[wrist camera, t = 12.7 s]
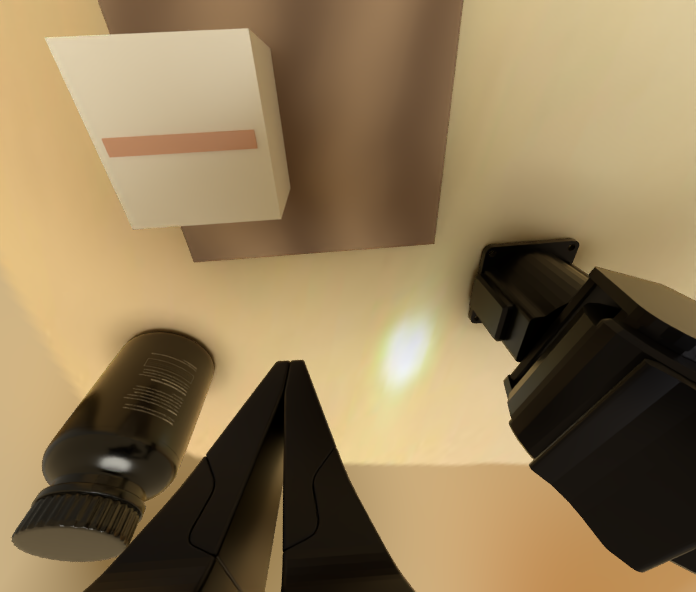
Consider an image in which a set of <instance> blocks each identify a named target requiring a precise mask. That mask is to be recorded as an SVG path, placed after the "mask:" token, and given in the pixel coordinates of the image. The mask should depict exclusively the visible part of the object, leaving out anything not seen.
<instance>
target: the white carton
mask: <svg viewBox="0 0 696 592" xmlns="http://www.w3.org/2000/svg"><path fill="white" fill-rule="evenodd" d="M44 38H45V40H46V42H47V44H48V46H49V49H50V51H51V53H52V55H53V57H54V60H55V62H56V64H57V66H58V68H59V70H60V73H61V75H62V77H63V79H64V81H65V83H66V86H67V88H68V90H69V92H70V94H71V96H72V99H73V101H74V103H75V105H76V107H77V110H78V112H79V114H80V116H81V118H82V120H83V123H84V125H85V127H86V129H87V131H88V133H89V136H90V138H91V140H92V142H93V144H94V147H95V149H96V151H97V153H98V155H99V157H100V160H101V162H102V164H103V166H104V168H105V170H106V173H107V175H108V177H109V179H110V181H111V184H112V186H113V188H114V190H115V192H116V194H117V197H118V199H119V201H120V203H121V205H122V207H123V210H124V212H125V214H126V216H127V218H128V221H129V223H130V225H131V227H132V229H133V230H134V229H149V228H163V227H177V226H191V225H205V224H220V223H234V222H248V221H262V220H277V219H281V218H282V215H283V211H284V208H285V205H286V201H287V198H288V195H289V191H290V181H289V174H288V167H287V160H286V153H285V146H284V140H283V133H282V126H281V119H280V112H279V105H278V98H277V91H276V85H275V78H274V71H273V64H272V57H271V50H270V48H269V47H268V46H267V45H266V44H265V43H264V42H263V41H262V40H261V39H260V38H258V37H257V36H256V35H255V34H254V33H253V32H252V31H251V30H250V29H249V28H242V29H220V30H198V31H176V32H154V33H132V34H110V35H87V36H65V37H44Z"/></svg>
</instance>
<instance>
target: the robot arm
mask: <svg viewBox="0 0 696 592" xmlns="http://www.w3.org/2000/svg"><path fill="white" fill-rule="evenodd" d="M570 245H571V246H570ZM569 246H570V247H569ZM568 247H569V248H568ZM578 248H579V242H577V241H576V240H574V239H571V238H569V239H556V240H543V241H531V242H518V243H505V244H492V245H488V246H486V247H485V248H484V250H483V253H482V257H481V262H480V266H479V271H478V274H477V276H476V277H475V281H474V285H473V290H472V295H471V299H470V306H471V308H470V312H469V319H470V320H471V322H472V323H483V324H484V326H485V327H486V329H487V330H488V332H489V333H490V334H491V336H492V337H493V338H494V339H495V340H496V341H502V342H503V344H504V345H505V347H506V348H507V349H508V351H509V352H510V353H511V355H512V356H513V357H514V359H515V360H516V361H517V362H521V363H520V364H519V365H518V366H517V367H516V369H515V370H514V371H513V372H512V374H511V375H508V376H507V377H506V378H505V380H504V386H505V390H506V394H507V397H508V402H507V403H508V407H509V412H510V416H511V420H510V421H509V425H510V427H511V429H512V431H513V433H514V435H515V436H516V438H517V440H518V441H519V442H520V444H521V445H522V446H523V448H524V449H525V450H526V452H527V453H528V454H529V455H530V456H531V457H532V458H533V459H534V460H533V461H532V462H531V463H530V464H529V466H530V468H531V470H533V471H534V472H535V473H536V474H538V475H539V476H540V477H542V478H543V479H544V480H546V481H547V482H548V483H550V484H551V485H552V486H553V487H554V488H555V489H556V490H557V491H558V492H559V493H560V494H561V495H562V496H563V497H564V498H565V499H566V500H567V501H568V502H569V503H570V504H571V505H572V506H573V508H574V509H575V510H576V511H577V512H578V513H579V515H580V516H581V517H582V518H583V520H584V521H585V522H586V523H587V525H588V526H589V527H590V528H591V530H592V531H593V532H594V534H595V535H596V536H597V538H598V539H599V540H600V541H601V543H602V544H603V545H604V546H605V547H606V548H607V549H608V550H609V551H610V552H611V553H613V554H614V555H615V556H617V557H618V558H619V559H621V560H622V561H623V562H625V563H626V564H627V565H629V566H630V567H631V568H633V569H634V570H636V571H638V572H645V571H647V570H650V569H652V568H654V567H657V566H659V565H661V564H663V563H665V562H667V561H671V562H673V563H674V564H676V565H678V566H680V567H682V568H684V569H686V570H688V571H690V572H692V573H694V574H696V301H695V300H693V299H691V298H689V297H687V296H685V295H683V294H681V293H679V292H677V291H675V290H673V289H671V288H669V287H667V286H664V285H662V284H659V283H655V282H652V281H648V280H644V279H640V278H637V277H633V276H629V275H625V274H622V273H618V272H614V271H610V270H607V269H603V268H599V267H595V268H594V269H593V270H592V271H591V273H590V274H589V275H588V274H587V273H585V272H584V271H582V270H581V269H579V268H578V267H576V266H575V265H573V264H572V262H573V260H574V258H575V255H576V253H577V250H578ZM491 251H493V253H492V254H490V255H489V253H490V252H491ZM476 316H477V317H476ZM474 317H475V318H474ZM206 456H207V457H203V459H202V460H201V461H200V463H199V464H198V466H197V467H196V468H195V469H194V471H193V472H192V473H191V474H190V476H189V477H188V478H187V479H186V481H185V482H184V483H183V484H182V486H181V487H180V488H179V489H178V491H177V492H176V493H175V494H174V495H173V496H172V497H171V499H170V500H169V501H168V502H167V503H166V504H165V505H164V507H163V508H162V509H161V510H160V511H159V512H158V513H157V515H156V516H155V517H154V518H153V519H152V520H151V521H150V522H149V523H148V524H147V526H146V527H145V528H144V529H143V530H142V531H141V532H140V533H139V534H138V535H137V537H136V538H135V539H134V540H133V541H132V542H131V543H130V544H129V545H128V547H127V548H126V549H125V550H124V551H123V552H122V553H121V554H120V555H119V557H118V558H117V559H116V560H115V561H114V562H113V563H112V564H111V565H110V567H108V569H107V570H106V571H105V572H104V573H103V574H102V575H101V576H100V577H99V578H98V579H97V580H95V581H94V582H93V583H92V584H91V585H90V586H89V587H88V588H87V589H85V590H84V591H83V592H265V586H266V580H267V574H268V568H269V562H270V556H271V550H272V545H273V539H274V533H275V527H276V521H277V515H278V509H279V503H280V497H281V491H282V486H283V567H282V587H281V592H415V590H414V589H413V588H412V587H411V585H410V584H409V583H408V581H407V580H406V579H405V577H404V576H403V575H402V573H401V572H400V570H399V569H398V567H397V566H396V564H395V562H394V561H393V559H392V558H391V556H390V554H389V552H388V551H387V549H386V547H385V546H384V544H383V542H382V540H381V538H380V537H379V535H378V533H377V531H376V529H375V527H374V525H373V523H372V522H371V520H370V518H369V516H368V514H367V512H366V511H365V509H364V507H363V505H362V503H361V501H360V499H359V497H358V496H357V493H356V492H355V489H354V487H353V485H352V483H351V481H350V479H349V477H348V475H347V472H346V470H345V468H344V465H343V463H342V460H341V458H340V455H339V452H338V450H337V448H336V445H335V442H334V439H333V437H332V434H331V431H330V429H329V426H328V423H327V421H326V418H325V415H324V413H323V410H322V407H321V405H320V402H319V399H318V397H317V394H316V391H315V389H314V386H313V383H312V381H311V378H310V375H309V373H308V370H307V367H306V365H305V362H304V361H303V360H292V361H291V362H290V361H278V362H276V363H275V364H274V366H273V367H272V368H271V370H270V371H269V372H268V374H267V375H266V376H265V378H264V379H263V380H262V381H261V383H260V384H259V385H258V387H257V388H256V389H255V391H254V392H253V393H252V395H251V396H250V397H249V399H248V400H247V401H246V403H245V404H244V405H243V406H242V408H241V409H240V410H239V412H238V413H237V414H236V416H235V417H234V418H233V420H232V421H231V422H230V424H229V425H228V426H227V427H226V429H225V430H224V431H223V433H222V434H221V435H220V437H219V438H218V439H217V441H216V442H215V443H214V445H213V446H212V447H211V449H210V450H209V451H208V452H207V454H206Z"/></svg>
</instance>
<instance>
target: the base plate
mask: <svg viewBox="0 0 696 592" xmlns="http://www.w3.org/2000/svg"><path fill="white" fill-rule="evenodd" d="M98 2H99V5H100V8H101V11H102V13H103V16H104V19H105V21H106V24H107V27H108V30H109V32H110V34H132V33H154V32H176V31H198V30H220V29H242V28H249V29H250V30H251V31H252V32H253V33H254V34H255V35H256V36H257V37H258V38H260V39H261V40H262V41H263V42H264V43H265V44H266V45H267V46H268V47H269V48H270V50H271V57H272V64H273V71H274V78H275V85H276V91H277V98H278V105H279V112H280V119H281V126H282V133H283V140H284V146H285V153H286V160H287V167H288V174H289V181H290V191H289V195H288V198H287V201H286V205H285V208H284V211H283V215H282V218H281V219H277V220H262V221H248V222H234V223H220V224H205V225H191V226H181V228H182V231H183V234H184V237H185V239H186V242H187V245H188V247H189V250H190V253H191V256H192V258H193V261H194V262H204V261H217V260H230V259H243V258H256V257H269V256H282V255H295V254H308V253H321V252H334V251H347V250H361V249H374V248H387V247H400V246H413V245H426V244H434V242H435V233H436V225H437V217H438V208H439V200H440V192H441V183H442V175H443V167H444V158H445V150H446V141H447V133H448V125H449V116H450V108H451V100H452V91H453V83H454V74H455V66H456V58H457V49H458V41H459V33H460V24H461V16H462V7H463V0H98Z"/></svg>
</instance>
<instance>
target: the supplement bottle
mask: <svg viewBox="0 0 696 592" xmlns="http://www.w3.org/2000/svg"><path fill="white" fill-rule="evenodd" d="M213 374H214V365H213V362H212V359H211V357H210V356H209V354H208V353H207V351H206V350H205V349H204V348H203V347H202V346H200V345H199V344H198V343H196V342H195V341H193V340H191V339H189V338H187V337H184V336H181V335H178V334H174V333H168V332H151V333H146V334H142V335H139V336H137V337H135V338H133V339H131V340H130V341H129V342H127V343H126V344H125V345H124V347H123V348H122V349H121V350H120V352H119V353H118V354H117V355H116V357H115V358H114V359H113V361H112V362H111V363H110V364H109V366H108V367H107V368H106V370H105V371H104V372H103V374H102V375H101V376H100V378H99V379H98V380H97V382H96V383H95V384H94V386H93V387H92V388H91V390H90V391H89V392H88V394H87V395H86V396H85V398H84V399H83V400H82V401H81V403H80V404H79V405H78V407H77V408H76V409H75V411H74V412H73V413H72V415H71V416H70V417H69V419H68V420H67V421H66V423H65V424H64V425H63V427H62V428H61V429H60V431H59V432H58V433H57V435H56V436H55V437H54V439H53V440H52V441H51V443H50V444H49V446H48V448H47V449H46V451H45V453H44V456H43V460H42V471H43V475H44V477H45V479H46V481H47V483H48V484H49V485H50V486H49V487H47V488H45V489H43V490H42V491H41V492H40V493H39V494H38V495H37V497H36V498H35V500H34V501H33V503H32V506H31V509H30V510H29V511H28V513H27V514H26V516H25V517H24V519H23V520H22V521H21V523H20V524H19V526H18V527H17V529H16V530H15V532H14V534H13V536H12V542H13V543H14V545H15V546H16V547H18V549H20V550H22V551H24V552H26V553H29V554H31V555H35V556H39V557H42V558H48V559H52V560H59V561H70V562H88V561H90V562H91V561H101V560H106V559H111V558H114V557H117V556H118V555H120V554H121V553H122V552H123V551H124V550H125V549H126V548H127V547H128V545H129V544H130V541H131V539H132V537H133V534H134V531H135V529H136V527H137V524H138V523H139V522H140V521H141V519H142V517H143V514H144V512H145V509H146V506H145V503H144V502H145V501H148V500H150V499H152V498H154V497H156V496H157V495H159V494H160V493H162V492H163V491H164V490H165V489H166V488H167V487H168V486H169V485H170V484H171V483H172V482H173V480H174V479H175V477H176V475H177V472H178V470H179V468H180V466H181V463H182V460H183V457H184V455H185V452H186V449H187V447H188V444H189V441H190V438H191V436H192V433H193V430H194V428H195V425H196V422H197V419H198V417H199V414H200V411H201V409H202V406H203V403H204V400H205V398H206V395H207V392H208V390H209V387H210V384H211V381H212V378H213Z"/></svg>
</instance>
